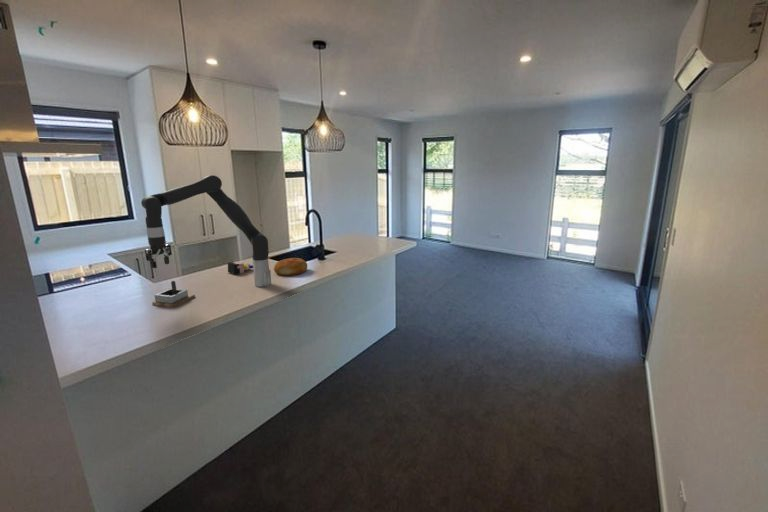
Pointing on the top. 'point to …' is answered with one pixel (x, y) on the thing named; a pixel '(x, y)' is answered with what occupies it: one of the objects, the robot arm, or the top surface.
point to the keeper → (173, 294)
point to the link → (171, 296)
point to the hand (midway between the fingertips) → (160, 265)
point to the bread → (290, 266)
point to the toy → (238, 267)
